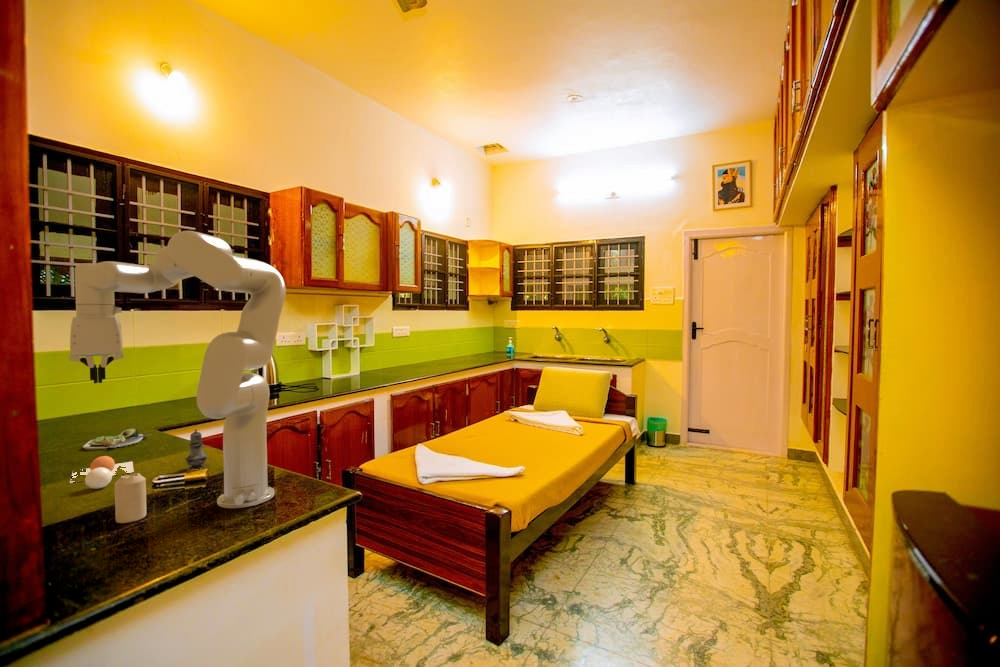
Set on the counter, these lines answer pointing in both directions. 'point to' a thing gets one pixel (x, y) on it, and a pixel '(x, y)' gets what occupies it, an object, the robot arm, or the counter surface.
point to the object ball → (103, 463)
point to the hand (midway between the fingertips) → (98, 382)
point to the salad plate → (116, 440)
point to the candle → (130, 498)
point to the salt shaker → (196, 452)
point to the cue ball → (98, 478)
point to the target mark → (128, 468)
